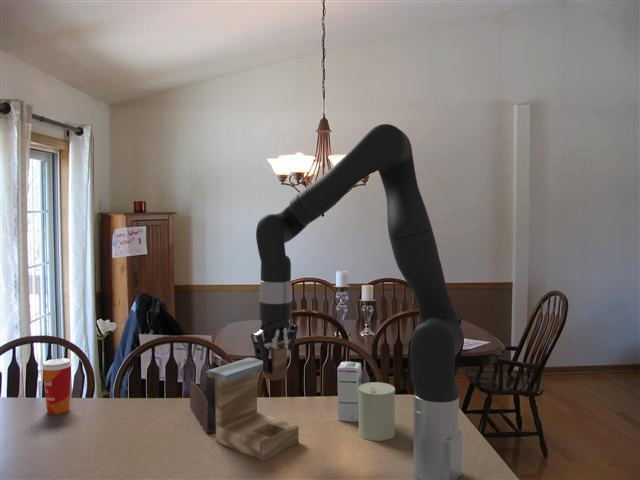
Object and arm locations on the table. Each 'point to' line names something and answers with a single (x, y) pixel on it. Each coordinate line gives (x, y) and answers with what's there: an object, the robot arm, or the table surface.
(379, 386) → the can
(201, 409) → the letter holder
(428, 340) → the robot arm
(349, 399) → the syrup box
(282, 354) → the peg
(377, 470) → the table surface
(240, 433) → the socket stand
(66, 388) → the paper cup
